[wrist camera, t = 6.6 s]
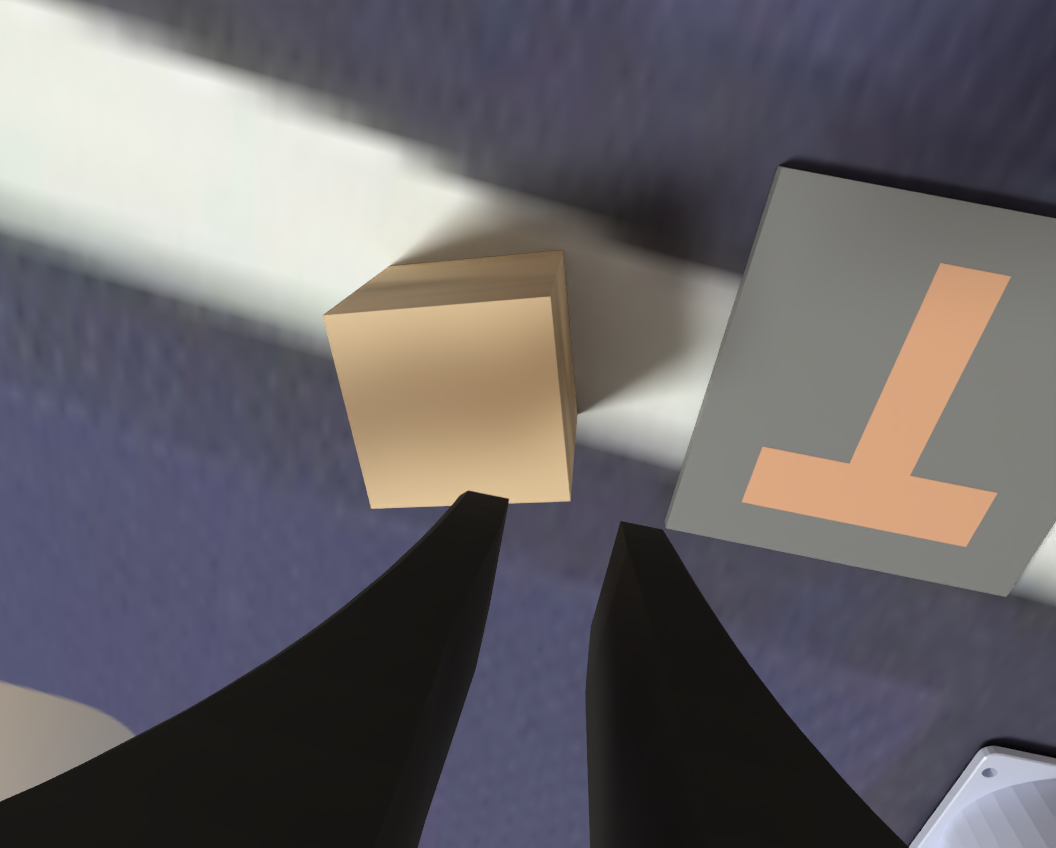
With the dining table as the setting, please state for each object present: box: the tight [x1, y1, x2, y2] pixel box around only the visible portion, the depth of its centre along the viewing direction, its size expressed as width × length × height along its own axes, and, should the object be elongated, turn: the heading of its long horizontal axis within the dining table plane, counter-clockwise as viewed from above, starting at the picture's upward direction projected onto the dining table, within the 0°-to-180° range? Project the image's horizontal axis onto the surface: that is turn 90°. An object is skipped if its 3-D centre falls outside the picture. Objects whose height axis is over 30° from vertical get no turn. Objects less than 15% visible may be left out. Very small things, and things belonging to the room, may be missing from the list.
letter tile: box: [665, 166, 1056, 597], centre depth 18 cm, size 11×11×1 cm
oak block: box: [323, 250, 577, 509], centre depth 17 cm, size 5×5×5 cm
